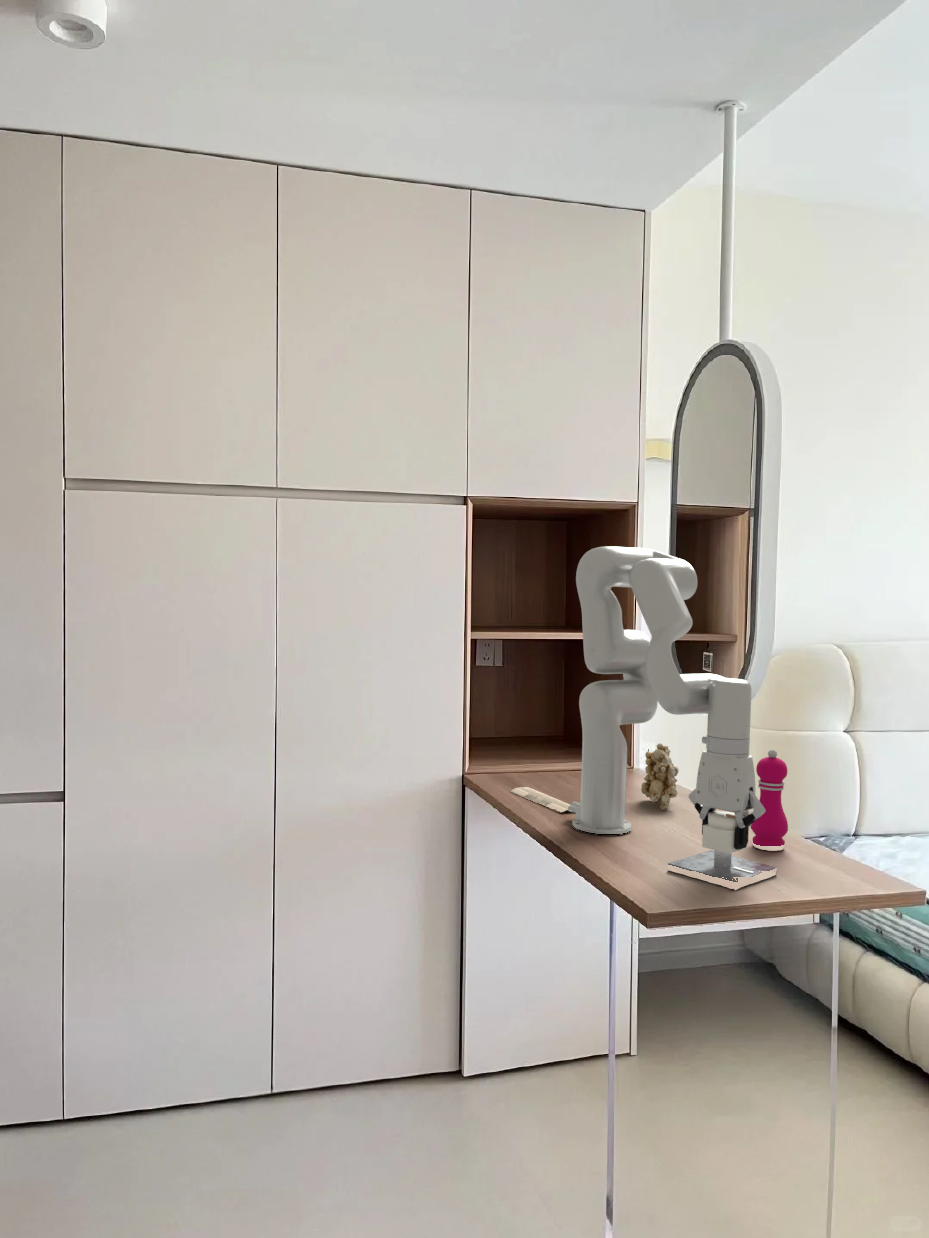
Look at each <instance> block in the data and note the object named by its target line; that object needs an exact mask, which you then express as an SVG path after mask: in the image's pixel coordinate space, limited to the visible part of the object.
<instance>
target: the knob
mask: <svg viewBox="0 0 929 1238" xmlns="http://www.w3.org/2000/svg"><path fill="white" fill-rule="evenodd" d="M736 827H738V824H737V820H736V817H735V813H734V812H729V811H724V810H719V811H718V810H717V811H716V810H715V812H710V813H708V824H706V825H703V835H702V841H701V843H702V844H701V845H702V848H705V849H708V850H712V851H715V850H716V851H720V852H724V853H728V854H730V853H732V854H733V853H736V852H740V851H742V850H746V849H747V847H746V848H743V849H739V850H737V849H735V848H734V839H735V828H736Z"/></svg>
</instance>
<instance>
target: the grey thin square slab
mask: <svg viewBox="0 0 929 1238" xmlns="http://www.w3.org/2000/svg"><path fill="white" fill-rule="evenodd" d="M732 854H733V853H730V854H728V853H724V852H720V851H716V850H712V849H709V850H708V851H704V852H701V853H697V854H694V855H691V856H686V857H683V858H680V859H677V860H673V861H671V862H667V866H668V865H672V866H676V867H679V868H682V869H686V870H689V871H696V872H699V873H703V874H705V875H709V876H712V877H718V878H722V877H724V878H722V879H725V880H729V881H733V882H738V878H736V880H737V881H736V880H735V879H734V878H733V877H753V876H755V875H758V874H760V873H762V872H761V871H770V870H773V869H775V868H777V869H778V867H776V866H773V865H768V864H766V863H762V862H761V863H760V862H757V861H754V860H749V859H746V858H742V857H738V856H735V855H732ZM759 871H760V872H759ZM726 878H727V879H726ZM732 879H733V880H732Z"/></svg>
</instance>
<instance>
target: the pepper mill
mask: <svg viewBox="0 0 929 1238" xmlns="http://www.w3.org/2000/svg"><path fill="white" fill-rule="evenodd" d="M777 756H778V752H777V751H776V750H775V749H769V750H768V752H767V756H765V757H762V758H761V759H760V760H759V761H758V762H757V764H756V767H755V769H756V770H755V771H756V775H757V776H758V778H759V779H758V781H757V783H758V787H757V788H759V792H760V793H759V794H760V795H759V799H758V800H759V801H760V802H761V804H762V805H763V807H764V808H765V810H766V812H765V813H764V814H763V815H761V816H760V817H759V818H758V819H757V820H756V821H755V822H753V823H752V825H751V826H750V829H751V831H752V832H753V834H754V836H753V837H752V839H751V840H752V841H753V843H754V844H756V845H760V846H781V845H784V844H785V845H786V840H785V839H784V838H783V837H785V836H786V834H787V833H788V831H789V824H788V819H787V816H786V814H785V811H784V809H783V803H782V793H783V790H785V787H784V785H785V782H784V780H785V779H786V777H787V776H788V767H787V766H788V765H787V764H786V762H785V761H784V760H783V759H782V758H779V757H777ZM752 841H751V842H752Z"/></svg>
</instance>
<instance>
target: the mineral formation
mask: <svg viewBox="0 0 929 1238" xmlns="http://www.w3.org/2000/svg"><path fill="white" fill-rule="evenodd" d="M656 748H657V749H654V751H646V752H645V754H644V755H645V763H644V764H645V765H647V766H645V769H644V770H645V773H646V775H645V777H643V779H644V781H643V782H642V783H641V788H640V790H641V793H642V794H643V795H645V796H646V797H647V798H649V800H650V801H652V803H655V802H659V803H660V806H659V807H660V810H662V811H665V810H666V808H667V807H669V806H670V802H671V799H672V798H673V799H674V798H677V795H678V791H677V785H676V783H677V781H678V779H677V778H676V777H677V776H678V774H679V772H680V771H679V768H678V767H677V766H674V763H673V762H672V761H673V760H672V758H671V757H670V753H672V751H671V750H670V749H669V746H667V745H663V744H662V743H657V745H656Z"/></svg>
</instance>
